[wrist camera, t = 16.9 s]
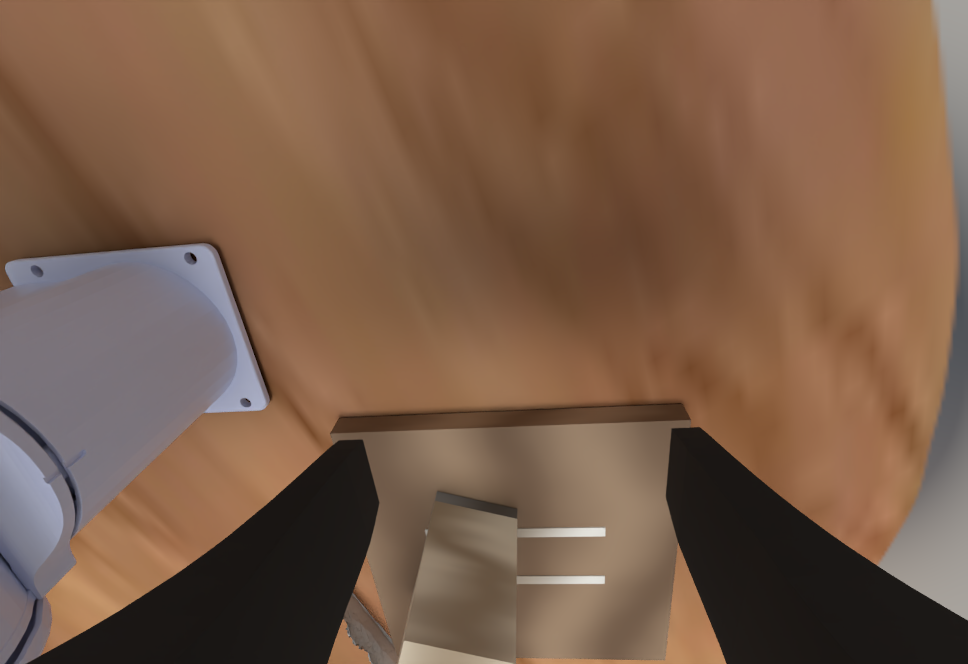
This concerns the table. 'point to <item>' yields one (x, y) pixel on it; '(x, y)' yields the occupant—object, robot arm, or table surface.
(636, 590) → the walnut board
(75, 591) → the table surface
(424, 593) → the block
